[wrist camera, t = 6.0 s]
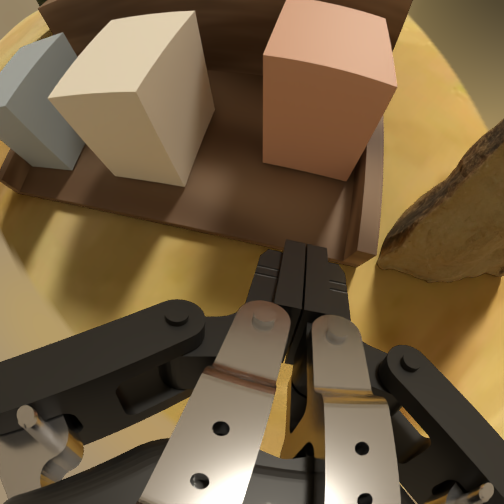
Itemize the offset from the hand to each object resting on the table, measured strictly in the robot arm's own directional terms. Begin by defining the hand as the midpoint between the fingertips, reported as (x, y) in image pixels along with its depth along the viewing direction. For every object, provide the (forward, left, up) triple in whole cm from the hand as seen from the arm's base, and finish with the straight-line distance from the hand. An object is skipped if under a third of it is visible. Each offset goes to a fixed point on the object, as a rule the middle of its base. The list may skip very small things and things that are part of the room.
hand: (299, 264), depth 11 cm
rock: (+11, -2, -5) cm, 13 cm away
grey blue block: (-12, +15, -5) cm, 20 cm away
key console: (-4, +12, -5) cm, 14 cm away
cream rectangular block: (-5, +11, -5) cm, 13 cm away
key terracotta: (+4, +8, -5) cm, 11 cm away
